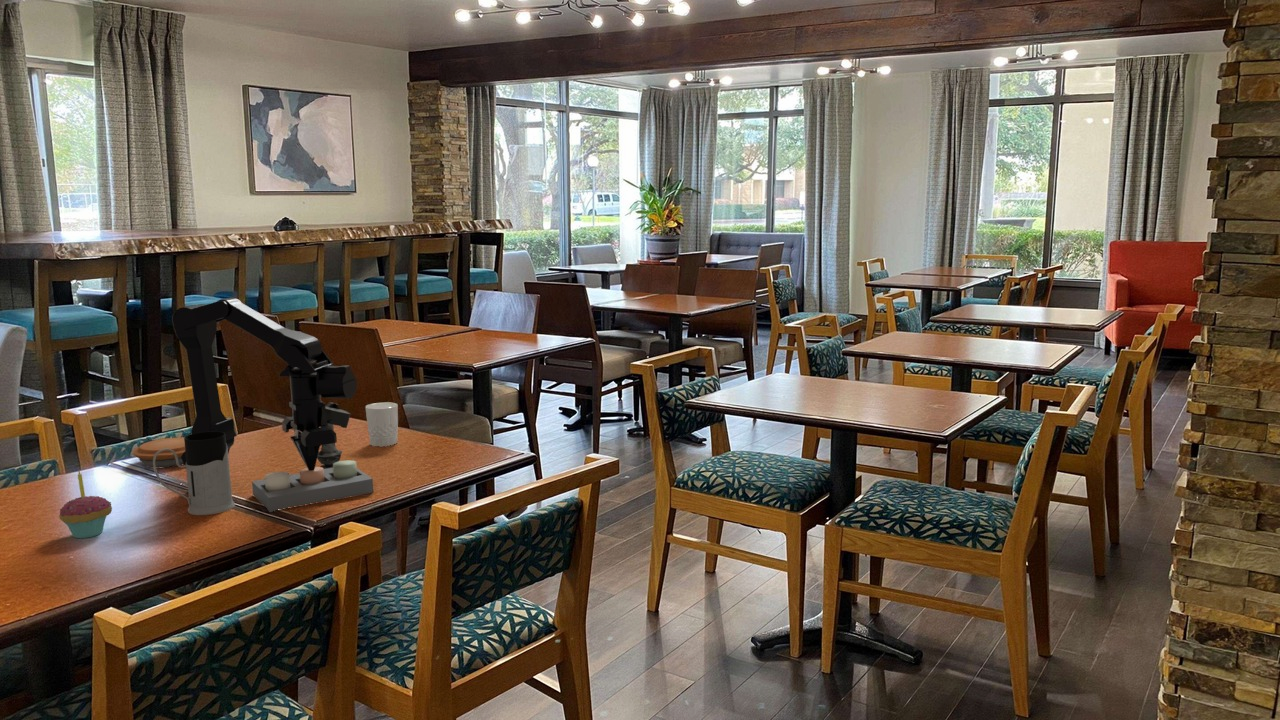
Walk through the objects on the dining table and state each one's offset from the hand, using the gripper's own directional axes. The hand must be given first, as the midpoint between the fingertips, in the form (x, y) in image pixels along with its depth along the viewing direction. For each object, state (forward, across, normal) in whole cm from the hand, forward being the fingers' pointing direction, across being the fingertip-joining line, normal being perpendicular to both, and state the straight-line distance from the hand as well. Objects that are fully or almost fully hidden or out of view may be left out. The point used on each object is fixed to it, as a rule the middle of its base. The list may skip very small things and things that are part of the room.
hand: (311, 470), depth 194 cm
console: (+5, 0, 0) cm, 5 cm away
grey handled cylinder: (+5, +3, +22) cm, 23 cm away
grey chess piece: (+5, +18, -9) cm, 21 cm away
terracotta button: (+3, 0, 0) cm, 3 cm away
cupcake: (+5, +1, +41) cm, 41 cm away
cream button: (+3, 0, +7) cm, 8 cm away
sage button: (+3, 0, -7) cm, 8 cm away
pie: (+6, +48, +20) cm, 52 cm away
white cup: (+5, +32, -27) cm, 42 cm away
